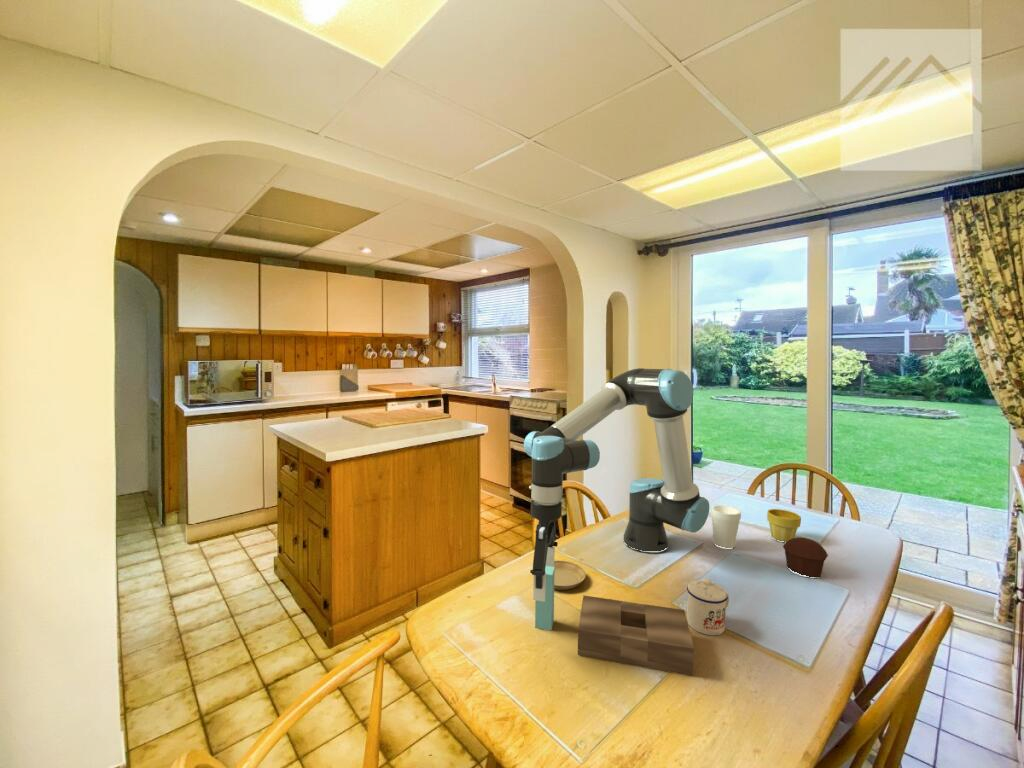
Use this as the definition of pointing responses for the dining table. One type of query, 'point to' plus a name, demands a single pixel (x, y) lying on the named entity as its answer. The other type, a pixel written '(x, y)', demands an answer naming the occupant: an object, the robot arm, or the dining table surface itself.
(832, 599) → the dining table surface
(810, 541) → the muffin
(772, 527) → the plant pot
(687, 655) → the hole board
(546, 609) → the peg
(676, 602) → the dining table surface
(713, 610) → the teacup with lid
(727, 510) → the foam cup
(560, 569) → the plant saucer
